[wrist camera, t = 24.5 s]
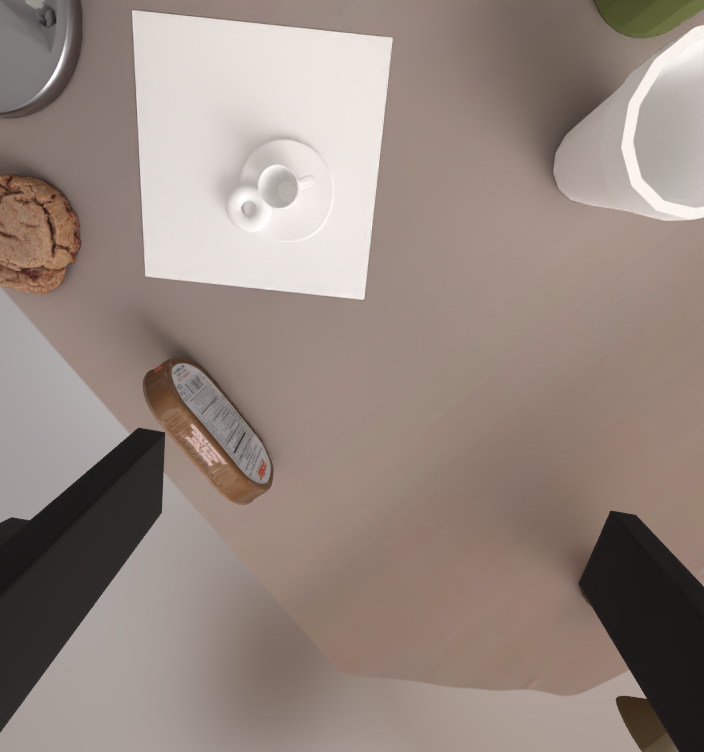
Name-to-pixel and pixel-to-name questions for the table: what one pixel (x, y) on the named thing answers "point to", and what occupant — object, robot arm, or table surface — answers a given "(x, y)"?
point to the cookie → (35, 234)
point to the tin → (209, 429)
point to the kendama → (643, 723)
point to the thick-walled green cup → (647, 15)
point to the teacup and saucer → (258, 152)
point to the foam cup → (644, 140)
